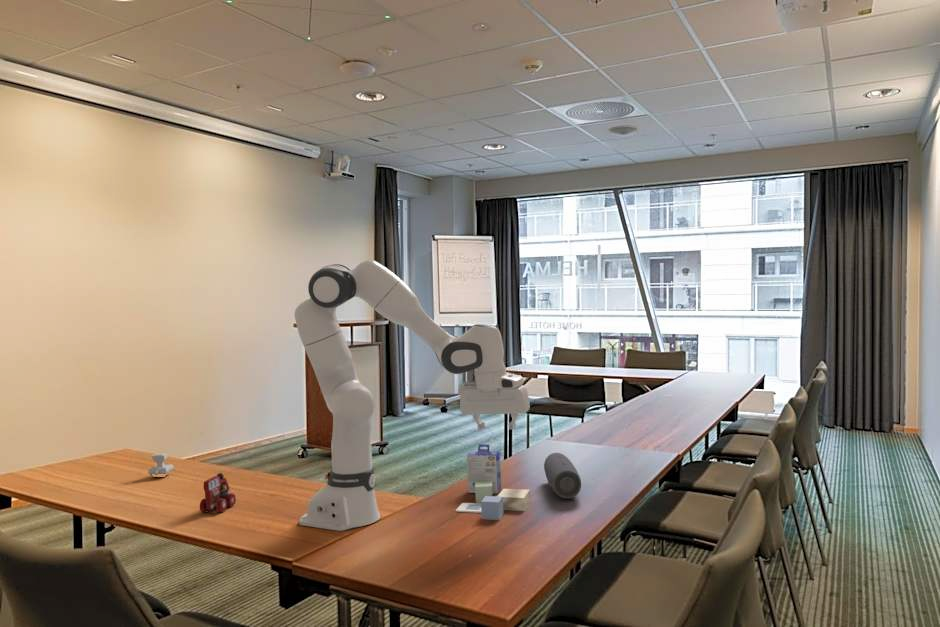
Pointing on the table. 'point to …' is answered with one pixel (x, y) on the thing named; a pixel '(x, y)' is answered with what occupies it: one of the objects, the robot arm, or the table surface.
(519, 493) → the birch base
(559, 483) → the bluetooth speaker
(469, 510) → the swatch card
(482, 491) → the green cube
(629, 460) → the table surface
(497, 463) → the ink cartridge box
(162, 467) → the stamp
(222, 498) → the toy fire truck
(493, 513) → the blue cube
